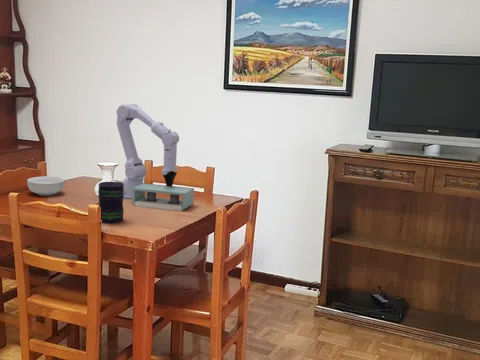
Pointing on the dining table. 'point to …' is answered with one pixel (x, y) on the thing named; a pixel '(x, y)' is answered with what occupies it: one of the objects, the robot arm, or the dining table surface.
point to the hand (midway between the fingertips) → (169, 187)
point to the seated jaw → (174, 199)
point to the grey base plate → (159, 204)
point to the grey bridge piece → (186, 192)
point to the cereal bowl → (46, 185)
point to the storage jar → (111, 202)
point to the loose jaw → (151, 196)
